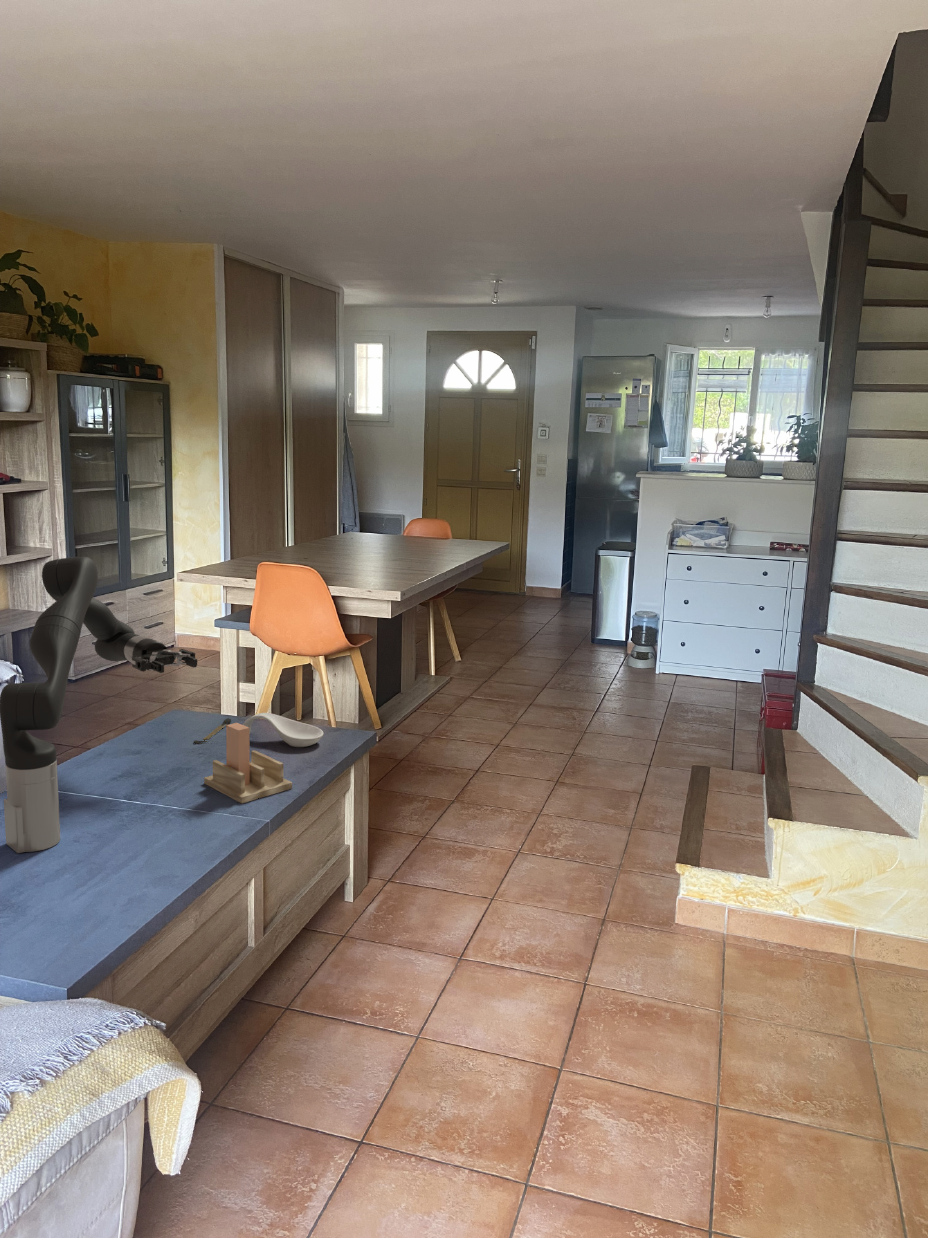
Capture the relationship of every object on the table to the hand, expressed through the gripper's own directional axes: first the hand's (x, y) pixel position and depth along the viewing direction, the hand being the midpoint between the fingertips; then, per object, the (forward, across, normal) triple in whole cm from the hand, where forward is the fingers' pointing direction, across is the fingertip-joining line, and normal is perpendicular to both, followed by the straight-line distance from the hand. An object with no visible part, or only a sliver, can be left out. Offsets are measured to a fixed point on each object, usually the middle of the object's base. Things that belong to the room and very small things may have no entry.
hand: (179, 665), depth 215 cm
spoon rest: (-7, +34, +28) cm, 45 cm away
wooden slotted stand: (+15, +9, +28) cm, 33 cm away
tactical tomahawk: (-23, +25, +29) cm, 44 cm away
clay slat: (+15, +6, +26) cm, 31 cm away
